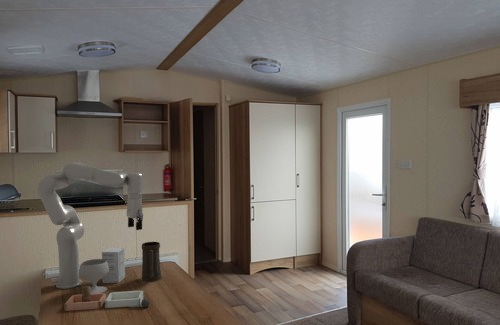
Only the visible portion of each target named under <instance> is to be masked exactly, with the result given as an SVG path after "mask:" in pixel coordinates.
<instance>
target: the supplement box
mask: <svg viewBox="0 0 500 325" xmlns="http://www.w3.org/2000/svg"><path fill="white" fill-rule="evenodd" d="M101 259H104V260H106V261H107V263H108V266H109V272H108V273H107V275H106V276H104V277H103V278H102V283H104V284H105V283H109V284H110V283H111V284H113V283H115V284H118V283H120V282H122V281H123V279H125V278H126V270H125V269H126V267H125V264H126V263H125V247H107V248H106V249H104V251H102V252H101Z"/></svg>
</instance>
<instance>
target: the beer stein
mask: <svg viewBox="0 0 500 325" xmlns="http://www.w3.org/2000/svg"><path fill="white" fill-rule="evenodd" d="M160 247H161V244H160V242H159V241H148V242H147V241H146V242H142V244H141V250H142V262H141V281H143V282H148V283H149V282H156V281H160V280H161V279H162V270H161V263H160V262H161V261H160V260H161V259H160Z"/></svg>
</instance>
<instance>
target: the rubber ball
mask: <svg viewBox="0 0 500 325" xmlns="http://www.w3.org/2000/svg"><path fill="white" fill-rule="evenodd" d="M150 304H151V301H150V299H148V298H143V300H142V302H141V306H142V307H143V308H146V307H149V305H150Z"/></svg>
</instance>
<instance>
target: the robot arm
mask: <svg viewBox="0 0 500 325" xmlns="http://www.w3.org/2000/svg"><path fill="white" fill-rule="evenodd" d="M76 181H82V182H87V183H88V182H89V183H92V184H96V185H100V186H103V187H104V186H105V187H109V188H122V187H127V203H126V217H127V227H128V228H134V227H135V230H136V231H139V230H140V231H141V230H143V219H144V213H143V201H142V200H143V174H142V173H140V172H123V171H121V172H112V171H107V170H103V169H100V168H99V167H97V166H94V165H93V166H92V165H88V164H84V163H82V162H77V161H75V162H74V161H73V162H68V163H66V164H64V166H63V169H62V171H60V172H59V173H51V174H50V173H49V174H47V175H45V176H43V177H41V179H40V180H39V182H38V185H37V194H38V197H39V199H40V200H41V202H42V204H43V206H44V209H45V211H46V213H47V215H48V217H49V219H50V221H51V223H52V224H53V225H55V226H63V227H61V228H60V229H59V230H57V233H56V235H55V236H56V239H55V240H56V242H57V249H58V251H57V252H58V272H59V274H58V275H59V276H58V277H52V278H51V279H50V281H51V283H56V284H55V285H56V288H57V289H60V290H61V289H62V290H64V289H65V290H66V289H73V288H77V287H79V286H81V285H82V284H83V279H80V275H79V269H80V265H79V264H80V263H79V261H80V258H79V247H78V242H77V241H78V240H80V239H81V238H83V236H84V234H85V227H84V224H83V223H82V221H81V218H80V217H79V215H78V212H77V211H76V209H75V208H74V207H73V206H71V205H67V204H64V203H63V201H62V199H61V197H60V195H59V194H58V193H57V190H61V189H65V188H67V187H68V186H70V185H72V184H73V183H75V182H76ZM135 221H136V222H135Z"/></svg>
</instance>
